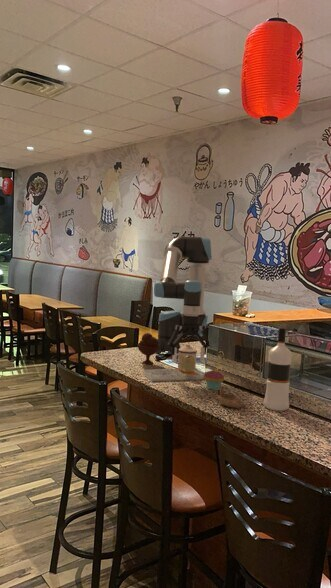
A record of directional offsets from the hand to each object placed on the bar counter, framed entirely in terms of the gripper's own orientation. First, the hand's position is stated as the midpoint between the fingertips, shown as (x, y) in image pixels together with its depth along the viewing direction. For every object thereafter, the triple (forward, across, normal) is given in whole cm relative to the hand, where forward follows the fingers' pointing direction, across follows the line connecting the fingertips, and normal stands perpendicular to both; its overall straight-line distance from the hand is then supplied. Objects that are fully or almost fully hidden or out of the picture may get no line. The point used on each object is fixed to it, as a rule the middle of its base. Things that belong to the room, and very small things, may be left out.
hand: (188, 361), depth 210 cm
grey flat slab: (+7, -6, 0) cm, 9 cm away
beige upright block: (+7, 0, 0) cm, 7 cm away
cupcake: (+7, +4, -19) cm, 21 cm away
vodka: (+7, +17, -46) cm, 50 cm away
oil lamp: (+7, 0, -40) cm, 41 cm away
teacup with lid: (+7, +4, +14) cm, 16 cm away
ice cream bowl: (+7, -11, +25) cm, 28 cm away
